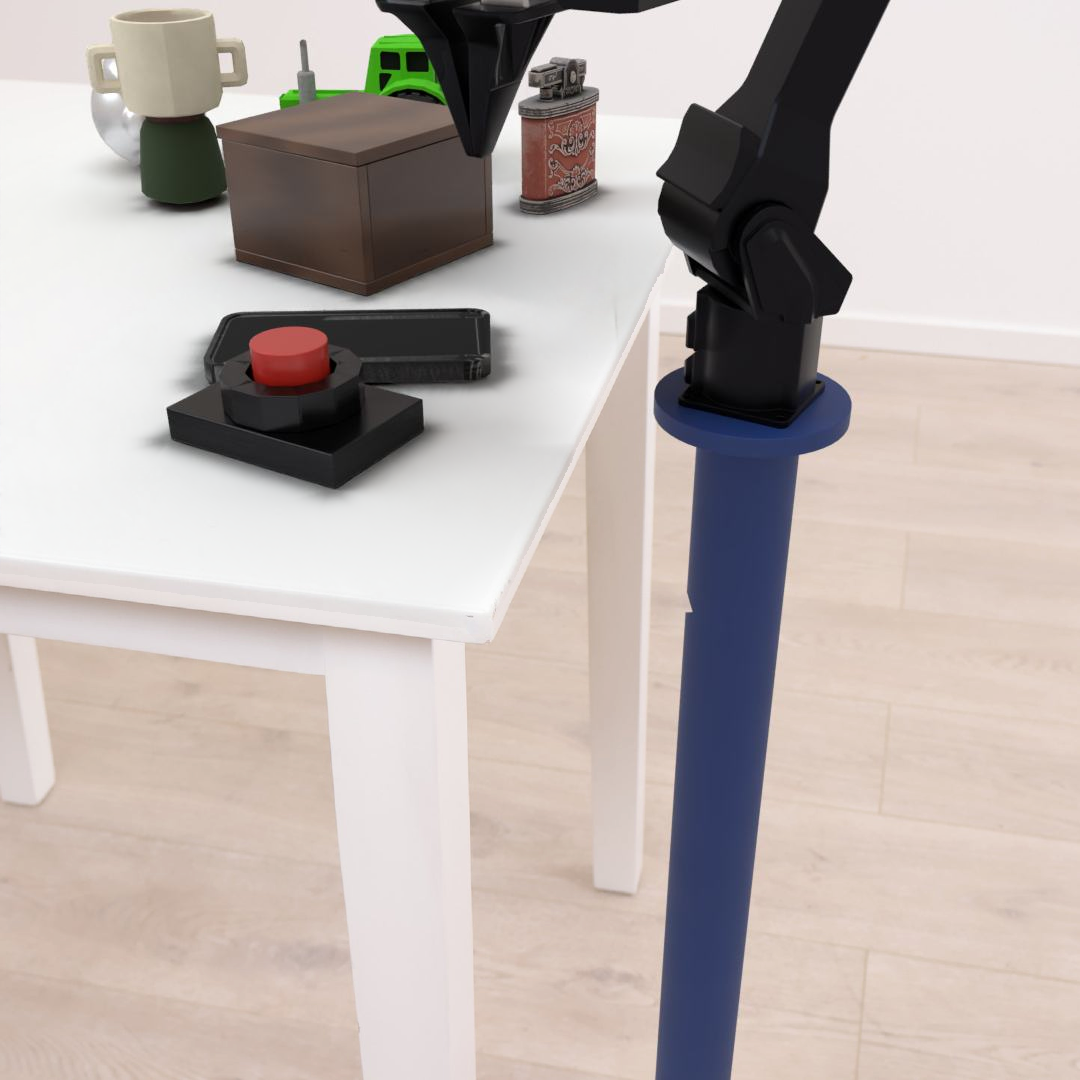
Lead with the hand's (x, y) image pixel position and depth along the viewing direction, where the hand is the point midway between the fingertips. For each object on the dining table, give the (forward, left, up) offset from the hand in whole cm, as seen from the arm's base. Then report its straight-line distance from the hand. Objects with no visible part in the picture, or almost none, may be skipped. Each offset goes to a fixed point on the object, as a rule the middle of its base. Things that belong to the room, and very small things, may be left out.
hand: (479, 156), depth 62 cm
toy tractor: (+31, -33, -12) cm, 47 cm away
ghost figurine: (+47, -24, -12) cm, 54 cm away
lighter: (+14, -32, -12) cm, 37 cm away
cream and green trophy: (+38, -18, -12) cm, 44 cm away
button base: (+5, +9, -12) cm, 16 cm away
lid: (+19, -15, -4) cm, 25 cm away
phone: (+9, 0, -12) cm, 15 cm away
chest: (+19, -15, -12) cm, 27 cm away
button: (+5, +9, -9) cm, 14 cm away
